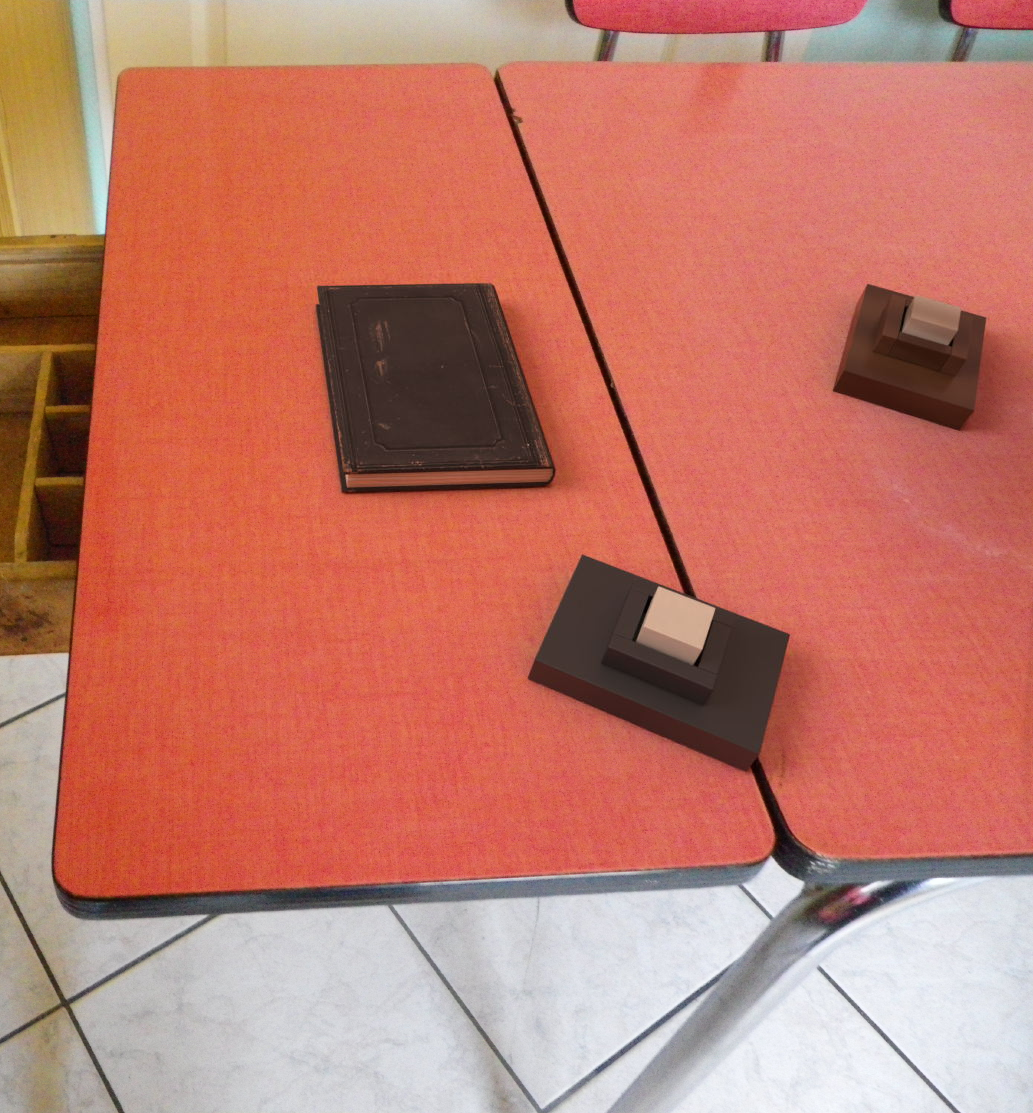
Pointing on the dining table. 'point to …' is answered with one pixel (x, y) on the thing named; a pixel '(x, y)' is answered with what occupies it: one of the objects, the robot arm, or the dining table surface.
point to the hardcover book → (427, 390)
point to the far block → (910, 362)
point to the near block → (662, 666)
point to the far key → (931, 320)
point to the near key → (676, 625)
